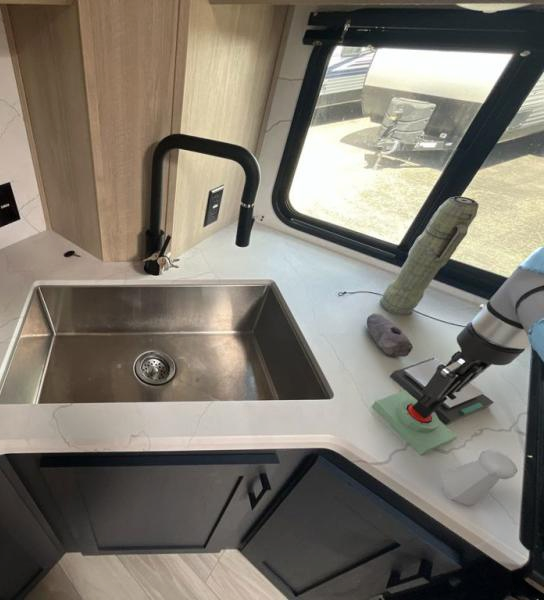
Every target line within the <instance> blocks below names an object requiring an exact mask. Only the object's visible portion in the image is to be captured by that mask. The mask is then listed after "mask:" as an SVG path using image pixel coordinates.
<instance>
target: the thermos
mask: <svg viewBox="0 0 544 600" xmlns="http://www.w3.org/2000/svg"><path fill="white" fill-rule="evenodd" d="M479 205H480V204H479V203H478V201H476V200H474V199H473V198H470V197H466V196H460V195H459V196H452V197H451V196H450V197H449V198H447V199H446V200H445V201H444V202H443V203H442V204H441V205H440V206H439V207H438V208H437V210H436V211H435V212H433V214H432V216H431V217H430V219H429V221H428V223H427V224H426V226H425V228H424V229H423V231H422V232H421V234H420V235H419V236H418V237H416V239H415V241H414V243H413V245H412V247H410V249H409V251H408V253H407V258H406V260H405V262H404V263H403V264H402V267H401V268H400V270H399V271H398V273H397V275H396V276H395V277H394V280H393V281H391V282H390V283H389V284H388V286H387V287H386V288H385V290H384V293H383V295H382V297H381V298H380V300H379V304H380V306H381V307H382V309H384V310H385V311H388V313H391V314H394V315H398V316H409V315H410V314H411V313H412V312H413V310H414V309H415V308H416V307H417V306H418V305H419V303H420V302H421V300H422V299H423V298H424V293H425V291H426V289H428V286H429V285H430V284H431V282H432V281H433V279H434V278H435V277H436V275H437V274H438V272H439V271H440V269H441V268H443V267H445V266H446V265H447V263H448V262H449V260H450V259H451V258H452V256H453V255H454V254H455V252H456V250H457V248H458V247H459V245H460V244H461V243H462V241H463V240H464V239H465V237H466V236H467V234H468V231H469V227H470V225H471V224H472V223H473V221H474V220H475V218H476V216H477V214H478V210H479Z"/></svg>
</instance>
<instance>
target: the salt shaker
mask: <svg viewBox="0 0 544 600" xmlns="http://www.w3.org/2000/svg"><path fill="white" fill-rule="evenodd" d="M517 472H518V468H517V466H516V464H515V462H514V461H513V460H512V459H511V458H510V457H509V456H507V455H506V454H505V453H503V452H500V451H498V450H494V449H487V450H484V451H482V452H481V453H480V454H479V456H478V459H477V460H473V461H471V462H468V463H465V464H462V465H459V466H456V467H453V468H450V469H447V470H444V472H443V474H442V476H441V491H443V492H444V493H445V495H446V496H447V497H448V499H449V500H451V501H454V502H456V503H458V504H461V505H465V506H466V505H468V506H473V505H478V504H481V503H482V502H483V500H485V498H486V497H487V496H488V494H489V493H490V491H492V489H493V488H494V486H495V485H496V484H497V483H498V482H499V481H500V480H508V479H512V478H514V477H515V476H516V474H518V473H517Z"/></svg>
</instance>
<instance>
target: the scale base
mask: <svg viewBox="0 0 544 600" xmlns="http://www.w3.org/2000/svg"><path fill="white" fill-rule="evenodd" d="M433 359H436V358H435V357H431V358H429V359H426V360H422V361H420V362H417V363H414V364H411V365H407V366H406V367H403V368H400V369H397V370H393V372H392V373H391V374H390V376H389V377H390V379H392V380H393V381H394V382H395V383H397V384H398V386H400V387H401V388H402V389H403V390H405V391H406V392H407V393H409V394H410V395H411V396H412V397H413V398H414V399H415V400H417V401H419V400H420V398H421V397H422V396H423V395H424V394H425V393H424V392H422V391H423V388H422V387H421V386H420V385H418V384H417V383H416V382H415V381H414V380H412V379H411V378H410V377H409V376H408V375H406V374H405V373H404V372H403V371H404V370H405V369H408V368H411V367H413V366H416V365H419V364H422V363H425V362H428V361H430V360H433ZM494 403H495V402H494V401H493V400H492V399H490V398H489V397H488V396H487V395H485V393H484V394H483V395H482V396H479V397H477V398H474V399H472V400H469V401H467V402H465V403H462V404H460V405H457V406H455V407H452V408H450V409H447V408H446V407H445V406H444V405H443V404H441V405H440V406H439V407H438V408H437V409H436V410H435V411H434V412H435V413H436V415H437V417H438V419H439V420H440V421H441V422H442V423H443V424H444V425H445V426H448V425H450V424H452V423H455V422H457V421H459V420H462V419H464V418H466V417H469V416H471V415H473V414H476V413H478V412H480V411H483V410H485V409H487V408H489V407H490V406H492V405H493V404H494Z"/></svg>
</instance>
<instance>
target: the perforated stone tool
mask: <svg viewBox="0 0 544 600" xmlns="http://www.w3.org/2000/svg"><path fill="white" fill-rule="evenodd" d="M366 328H367V331H368V333H369V334H370V336H371V337H372V340H374V342H375V344H376V346H378V347H379V348H380V349H381V350H382V351H383V352H384V354H385V355H388V356H394V357H397V358H403V357H407V356H408V355H410V354H411V352H412V350H413V348H414V346H413V344H412V342H411V340H410V339H409V338H408V336H407V335H406V334H405V332H404V331H403V330H402V329H401V328H399V327H398V326H397V325H396V324H395V323H394V322H392V320H390V319H388V318H387V317H385V316H384V315H382V314H379V313H376V312H375V313H371V314H370V315H368V316H367V318H366Z"/></svg>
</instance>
